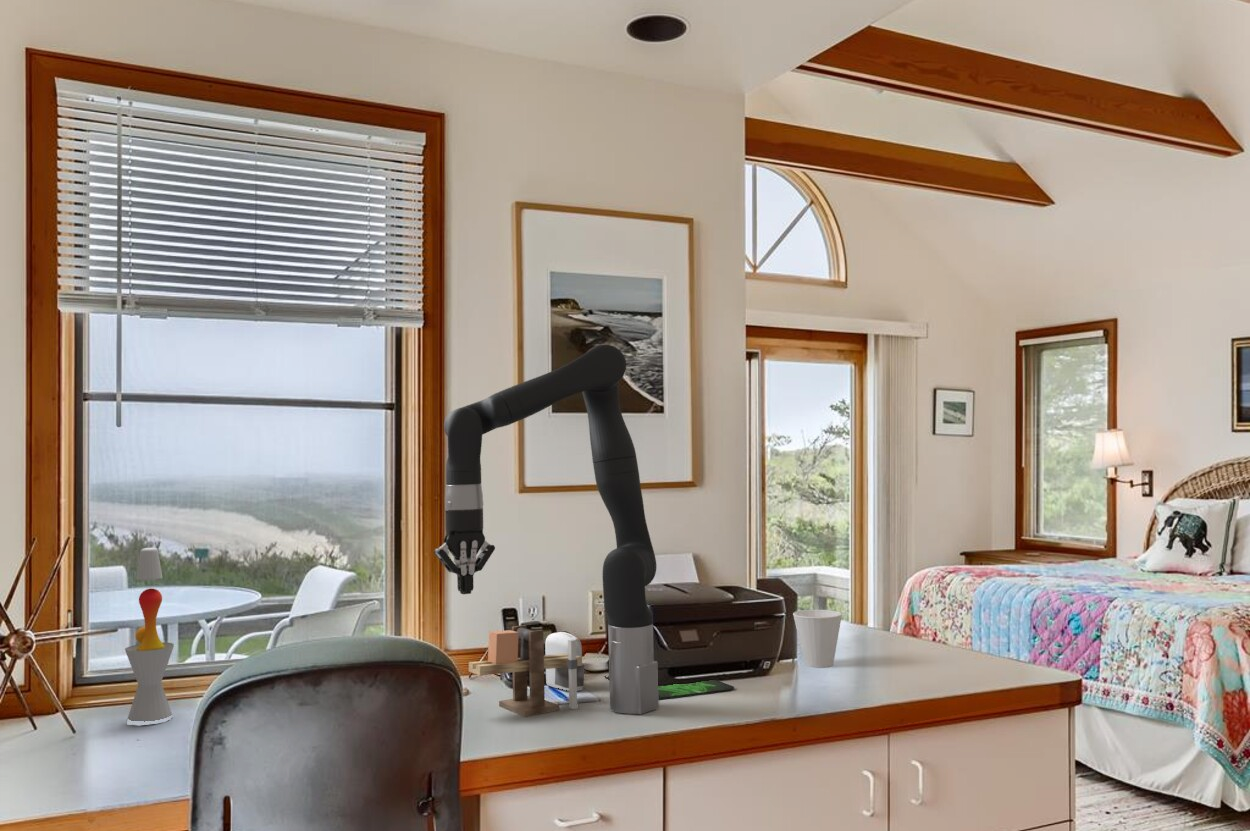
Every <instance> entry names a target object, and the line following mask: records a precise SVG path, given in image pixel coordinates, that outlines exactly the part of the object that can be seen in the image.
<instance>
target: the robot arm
mask: <svg viewBox="0 0 1250 831" xmlns="http://www.w3.org/2000/svg"><path fill="white" fill-rule="evenodd" d="M626 370H627V360H626V357H625V356H624V353H623V352H622V351H621V350H620V349H619V348H617V347H616V346H614V345H610V344H606V343H605V344H598V345H595V346H592V347H591V348H589V349H588V350H587V351H586V352H585V353H583V354H582V355H581V356H579V357H577V358H575V359H573V360H572V361H571V362H569V363H567V364H565V365H562V366H561V367H559V368H557V369H554V370H551V371H549V372H547V373H544V374H542V375H540V376H536V377H534V378H531V379H529V380H525V381H522V382H521V383H518V384H516V385H513V386H511V387H510V386H509V387H508V388H505V389H503V390H500V391H498V392H495V393H493V394H491V395H490V396H488V397H487V398H484V399H481V400H479V401H476V402H473V403H471V404H468V405H465V406H462V407H458V408H456V409H453V410H452V411H450V412H449V413H448V414H447V415H446V417H445V419H444V423H443V429H444V432H445V435H446V437H447V453H448V454H447V459H446V464H445V472H446V473H445V494H444V506H445V507H444V508H445V509H444V513H445V514H444V515H445V516H444V517H445V519H444V520H445V521H444V522H445V525H444V526H445V527H444V528H445V537H444V539H443V544H441V546H439V547H438V548H434V549H433V553H434V555H435V556H436V557H437V559H438V560H439V561H440V562H441V564H442V565H443V566H444V567H445V569H446V570H447V572H449V573H453V574H455V575H457V590H458V592H459V593H460V594H461V595H468V594H469V595H470V594H472V592H473V590H474V575H475V573H478V572H479V571H482V569H484V567H485V565H486V564H487V562H488V560H489V559H490V558H491V556H492V554H493V553H494V551H495V549H496V547H495V545H494V544H490V543H489V542H488V541H486V536H485V535H484V532H483V531H484V494H483V489H482V465H481V453H482V446H483V445H482V443H483V435H485V434H487V433H489V432H491V431H494V430H496V429H498V428H503V427H506V426H509V425H512V424H515V423H516V422H519V421H521V420H523V419H526V418H530V417H531V416H533V415H535V414H537V413H540V412H541V411H543V410H545V409H548V408H549V407H551V406H552V405H554V404H556V403H558V402H560V401H562V400H564V399H566V398H567V399H568V398H570V397H573V395H577V394H579V393H581V394H582V397H583V401H584V405H585V409H586V413H587V418H588V428H589V429H588V430H589V431H588V432H589V440H590V450H591V457H592V458H591V459H592V465H593V471H594V479H595V483H596V487H597V490H598V493H599V495H600V497H601V500H602V501H603V503H604V505H605V508H606V510H607V512H608V514H609V516H610V518H611V520H612V521H611V522H612V525H613V528H614V534H615V541H616V548H615V549H613V550H611V551H610V552H608V554H607V555H606V557H605V559H604V560H603V561H604V562H603V564H602V591H603V593H602V594H603V606H604V610H605V613H606V615H607V628H608V629H607V630H608V672H609V673H608V675H609V680H608V682H609V709H610V710H611V711H612V712H614V713H619V714H636V715H643V714H645V713H648V712H651V711H654V710H657V709H659V708H660V704H659V703H660V702H659V701H660V700H659V696H658V669H659V665H658V664H659V663H658V661H657V660H654V620H653V619H654V616H653V610H652V609H651V608H650V607H649V606H648V604H647V602H646V601H647V600H646V587H647V586H648V585H649V584H650V583H652V582H653V580H654V578H655V576H656V574H657V573H656V572H657V560H656V555H655V551H654V547H653V544H652V539H651V536H650V532H649V529H648V525H647V519H646V514H645V507H644V505H645V504H644V500H643V494H642V487H641V479H640V478H641V477H640V472H639V471H640V470H639V465H638V457H637V452H636V448H635V446H634V445H635V444H634V442H633V438H632V436H631V434H630V432H629V429H628V427H627V425H626V422H625V420H624V418H623V414H622V410H621V404H620V393H619V383H620V382H621V381H622V380H623V378H624V376H625V373H626ZM449 552H450V553H451V555H452V556H453V560H452V559H451V557H450V556H449ZM478 553H479V554H478Z"/></svg>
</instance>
